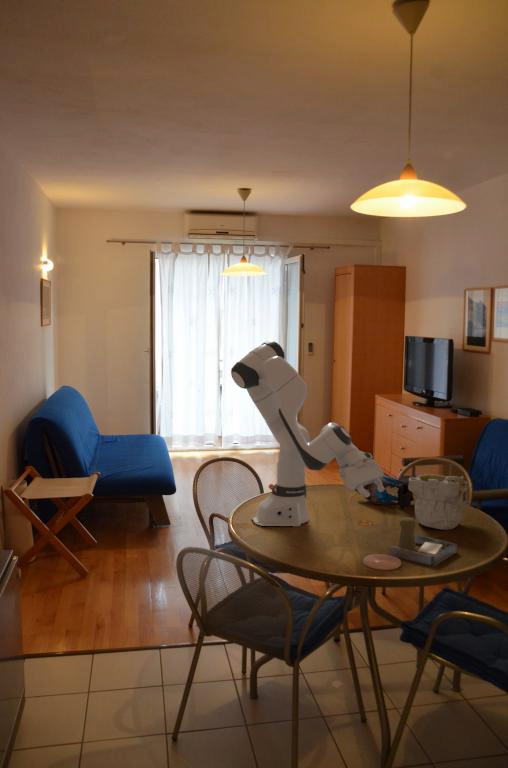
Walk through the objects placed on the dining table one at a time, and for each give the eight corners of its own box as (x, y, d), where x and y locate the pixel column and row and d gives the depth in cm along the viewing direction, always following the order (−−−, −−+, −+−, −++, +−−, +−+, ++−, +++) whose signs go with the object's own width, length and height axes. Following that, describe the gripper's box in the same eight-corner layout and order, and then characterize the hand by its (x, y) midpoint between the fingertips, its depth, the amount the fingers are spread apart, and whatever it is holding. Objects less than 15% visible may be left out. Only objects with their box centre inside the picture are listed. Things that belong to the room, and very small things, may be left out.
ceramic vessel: (411, 488, 271) (449, 447, 260) (453, 533, 261) (495, 492, 250) (385, 499, 254) (425, 455, 242) (430, 548, 243) (474, 504, 232)
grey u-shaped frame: (389, 554, 219) (389, 546, 219) (413, 541, 231) (413, 533, 231) (433, 566, 208) (433, 557, 208) (456, 552, 221) (456, 543, 221)
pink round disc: (372, 571, 204) (372, 569, 204) (357, 557, 216) (357, 555, 216) (407, 568, 207) (407, 565, 207) (391, 554, 219) (391, 552, 219)
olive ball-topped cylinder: (416, 553, 220) (417, 521, 219) (397, 552, 222) (398, 520, 220) (415, 547, 226) (416, 516, 225) (397, 545, 227) (398, 515, 226)
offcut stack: (416, 560, 215) (416, 551, 215) (424, 550, 225) (425, 541, 224) (434, 563, 212) (435, 554, 212) (442, 553, 222) (442, 544, 221)
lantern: (409, 521, 275) (353, 509, 288) (419, 487, 283) (364, 477, 295) (402, 504, 263) (344, 492, 276) (412, 469, 271) (355, 459, 283)
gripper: (341, 461, 226) (364, 494, 220) (373, 452, 241) (395, 483, 236) (330, 472, 229) (353, 504, 224) (362, 462, 245) (384, 493, 239)
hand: (375, 493), depth 230 cm, fingers open, 8 cm apart
